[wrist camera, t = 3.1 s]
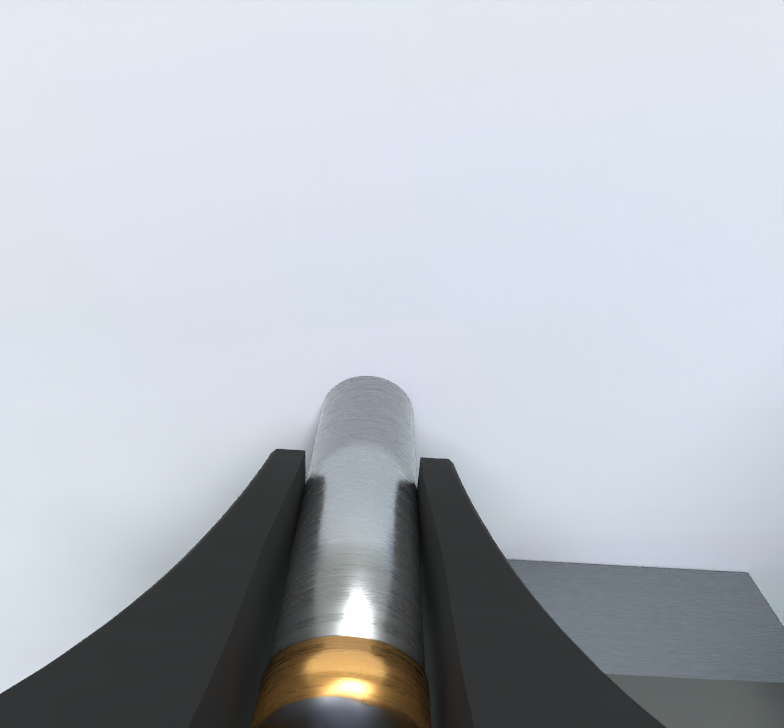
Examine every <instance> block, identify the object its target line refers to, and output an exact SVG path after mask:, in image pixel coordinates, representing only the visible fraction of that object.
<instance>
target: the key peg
mask: <svg viewBox="0 0 784 728" xmlns="http://www.w3.org/2000/svg"><path fill="white" fill-rule="evenodd" d="M251 728H431V710H430V691H429V682H428V679H427V676H426V674H425V656H424V634H423V612H422V590H421V568H420V546H419V524H418V502H417V480H416V458H415V436H414V414H413V408H412V404H411V402H410V400H409V398H408V397H407V395H406V394H405V393H404V391H403V390H402V389H400V388H399V387H398V386H397V385H395V384H394V383H392V382H390V381H388V380H385V379H382V378H378V377H372V376H361V377H355V378H351V379H348V380H345V381H343V382H341V383H339V384H338V385H336V386H335V387H334V388H333V389H332V390H331V391H330V392H329V393H328V395H327V396H326V398H325V400H324V402H323V405H322V410H321V414H320V419H319V424H318V429H317V433H316V438H315V443H314V448H313V452H312V457H311V462H310V467H309V471H308V476H307V481H306V486H305V490H304V495H303V500H302V505H301V509H300V514H299V519H298V524H297V528H296V533H295V538H294V542H293V547H292V552H291V557H290V561H289V566H288V571H287V576H286V580H285V585H284V590H283V595H282V599H281V604H280V609H279V614H278V618H277V623H276V628H275V633H274V637H273V642H272V647H271V652H270V656H269V661H268V664H267V666H266V668H265V669H264V671H263V674H262V678H261V682H260V687H259V692H258V696H257V701H256V706H255V710H254V715H253V719H252V724H251Z"/></svg>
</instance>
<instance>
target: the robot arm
mask: <svg viewBox="0 0 784 728" xmlns="http://www.w3.org/2000/svg"><path fill="white" fill-rule="evenodd" d="M305 486H306V485H305V451H303V450H286V449H276V450H275V451H273V452H272V453H271V454H270V456H269V457H268V459H267V460H266V462H265V463H264V465H263V466H262V468H261V469H260V470H259V472H258V473H257V474H256V476H255V477H254V478H253V480H252V481H251V482H250V484H249V485H248V486H247V488H246V489H245V490H244V491H243V493H242V494H241V495H240V496H239V497H238V499H237V500H236V501H235V502H234V503H233V505H232V506H231V507H230V508H229V509H228V511H227V512H226V513H225V514H224V515H223V517H222V518H221V519H220V520H219V521H218V522H217V523H216V524H215V525H214V526H213V527H212V529H211V530H210V531H209V532H208V533H207V534H206V535H205V536H204V537H203V538H202V539H201V540H200V541H199V542H198V543H197V545H196V546H195V547H194V548H193V549H192V550H191V551H190V552H189V553H188V554H187V555H186V556H185V557H184V558H183V559H182V560H181V561H179V562H178V563H177V564H176V565H175V566H174V567H173V568H172V569H171V570H170V571H169V572H168V573H167V574H165V575H164V576H163V577H162V578H161V579H160V580H159V581H158V582H157V583H155V584H154V585H153V586H152V587H151V588H150V589H148V590H147V591H146V592H145V593H144V594H142V595H141V596H140V597H139V598H138V599H136V600H135V601H134V602H133V603H132V604H130V605H129V606H128V607H127V608H126V609H124V610H123V611H122V612H120V613H119V614H118V615H117V616H115V617H114V618H113V619H111V620H110V621H109V622H107V623H106V624H105V625H104V626H102V627H101V628H99V629H98V630H96V631H95V632H94V633H92V634H91V635H89V636H88V637H87V638H85V639H84V640H82V641H81V642H80V643H78V644H77V645H75V646H74V647H73V648H71V649H70V650H68V651H67V652H65V653H64V654H63V655H61V656H60V657H58V658H57V659H55V660H54V661H52V662H51V663H49V664H48V665H46V666H45V667H43V668H42V669H40V670H39V671H37V672H35V673H34V674H32V675H30V676H29V677H27V678H26V679H24V680H22V681H21V682H19V683H17V684H16V685H14V686H12V687H11V688H9V689H7V690H6V691H4V692H3V693H1V694H0V728H251V724H252V719H253V715H254V710H255V706H256V701H257V696H258V692H259V687H260V682H261V678H262V674H263V671H264V669H265V668H266V666H267V664H268V661H269V656H270V652H271V647H272V642H273V637H274V633H275V628H276V623H277V618H278V614H279V609H280V604H281V599H282V595H283V590H284V585H285V580H286V576H287V571H288V566H289V561H290V557H291V552H292V547H293V542H294V538H295V533H296V528H297V524H298V519H299V514H300V509H301V505H302V500H303V495H304V490H305ZM417 502H418V524H419V546H420V568H421V590H422V612H423V634H424V656H425V674H426V676H427V679H428V682H429V691H430V710H431V728H666V727H665V726H664V725H663V724H662V723H660V722H659V721H658V720H657V719H656V718H654V717H653V716H652V715H651V714H649V713H648V712H647V711H646V710H645V709H643V708H642V707H641V706H640V705H639V704H637V703H636V702H635V701H634V700H633V699H632V698H630V697H629V696H628V695H627V694H626V693H625V692H624V691H623V690H622V689H621V688H619V687H618V686H617V685H616V684H615V683H614V682H613V681H612V680H611V679H610V678H609V677H608V676H607V675H606V674H604V673H603V672H602V671H601V670H600V669H599V668H598V667H597V665H596V664H595V663H594V662H593V661H592V660H591V659H590V658H589V657H588V656H587V655H586V654H585V653H584V652H583V651H582V650H581V649H580V648H579V647H578V646H577V645H576V644H575V643H574V642H573V641H572V640H571V639H570V638H569V637H568V635H567V634H566V633H565V632H564V631H563V630H562V629H561V628H560V627H559V626H558V624H557V623H556V622H555V621H554V620H553V619H552V618H551V616H550V615H549V614H548V613H547V612H546V611H545V609H544V608H543V607H542V606H541V605H540V603H539V602H538V601H537V600H536V598H535V597H534V596H533V595H532V593H531V592H530V591H529V590H528V588H527V587H526V586H525V584H524V583H523V582H522V580H521V579H520V578H519V576H518V575H517V574H516V572H515V571H514V569H513V568H512V567H511V565H510V564H509V562H508V561H507V559H506V558H505V556H504V555H503V554H502V552H501V551H500V549H499V548H498V546H497V544H496V543H495V541H494V540H493V538H492V537H491V535H490V533H489V532H488V530H487V528H486V527H485V525H484V523H483V522H482V520H481V518H480V517H479V515H478V513H477V511H476V510H475V508H474V506H473V504H472V502H471V500H470V498H469V496H468V495H467V493H466V491H465V489H464V487H463V485H462V483H461V480H460V478H459V476H458V474H457V472H456V469H455V467H454V464H453V463H452V462H451V461H450V460H449V459H437V458H421V460H420V468H419V477H418V485H417Z"/></svg>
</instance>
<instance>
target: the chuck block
mask: <svg viewBox="0 0 784 728" xmlns="http://www.w3.org/2000/svg"><path fill="white" fill-rule="evenodd" d="M507 561H508V562H509V564H510V565H511V567H512V568H513V569H514V571H515V572H516V574H517V575H518V576H519V578H520V579H521V580H522V582H523V583H524V584H525V586H526V587H527V588H528V590H529V591H530V592H531V593H532V595H533V596H534V597H535V598H536V600H537V601H538V602H539V603H540V605H541V606H542V607H543V608H544V609H545V611H546V612H547V613H548V614H549V615H550V616H551V618H552V619H553V620H554V621H555V622H556V623H557V624H558V626H559V627H560V628H561V629H562V630H563V631H564V632H565V633H566V634H567V635H568V637H569V638H570V639H571V640H572V641H573V642H574V643H575V644H576V645H577V646H578V647H579V648H580V649H581V650H582V651H583V652H584V653H585V654H586V655H587V656H588V657H589V658H590V659H591V660H592V661H593V662H594V663H595V664H596V665H597V667H598V668H599V669H600V670H601V671H602V672H603V673H604V674H606V675H607V676H608V677H609V678H610V679H611V680H612V681H613V682H614V683H615V684H616V685H617V686H618V687H619V688H621V689H622V690H623V691H624V692H625V693H626V694H627V695H628V696H629V697H630V698H632V699H633V700H634V701H635V702H636V703H637V704H639V705H640V706H641V707H642V708H643V709H645V710H646V711H647V712H648V713H649V714H651V715H652V716H653V717H654V718H656V719H657V720H658V721H659V722H660V723H662V724H663V725H664V726H665V727H666V728H784V626H783V625H782V623H781V622H780V620H779V619H778V617H777V616H776V614H775V613H774V611H773V610H772V608H771V607H770V605H769V604H768V602H767V601H766V599H765V598H764V596H763V595H762V593H761V592H760V590H759V589H758V587H757V586H756V584H755V583H754V581H753V580H752V578H751V577H750V575H749V574H748V573H738V572H720V571H702V570H684V569H666V568H648V567H630V566H612V565H594V564H576V563H558V562H540V561H522V560H507Z"/></svg>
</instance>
